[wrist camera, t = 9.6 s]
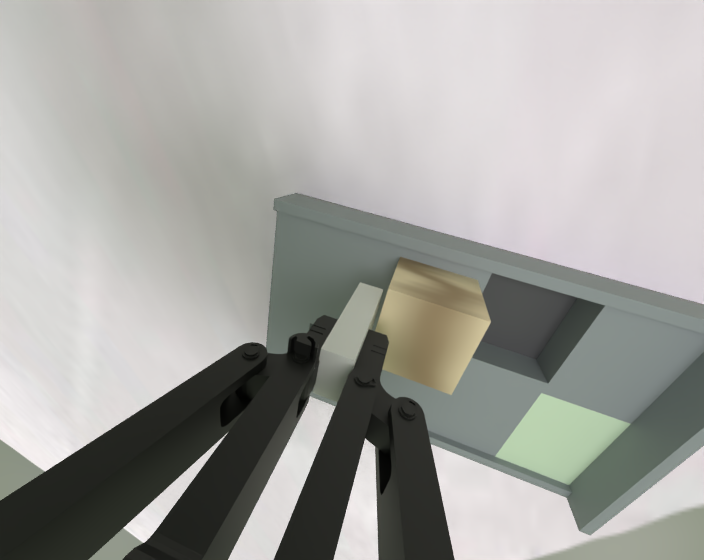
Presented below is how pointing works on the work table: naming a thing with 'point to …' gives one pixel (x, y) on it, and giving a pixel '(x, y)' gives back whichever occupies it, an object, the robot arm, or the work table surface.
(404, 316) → the block
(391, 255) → the board
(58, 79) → the work table surface
